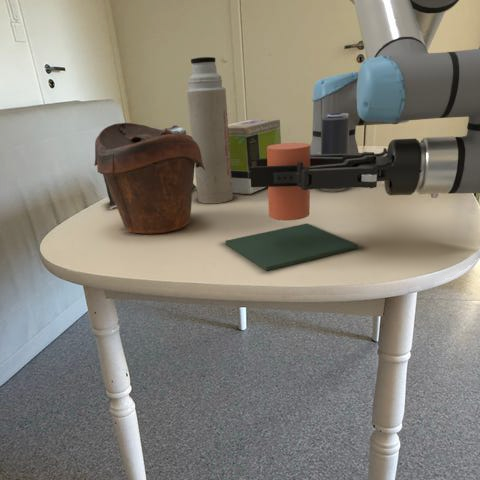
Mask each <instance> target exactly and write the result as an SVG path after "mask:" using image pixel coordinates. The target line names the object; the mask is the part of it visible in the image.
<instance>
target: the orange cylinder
mask: <svg viewBox="0 0 480 480" xmlns="http://www.w3.org/2000/svg"><path fill="white" fill-rule="evenodd" d="M310 146H311V143H307V142H306V143H305V142H283V143H282V142H281V144H274V145H270V146H268V147H267V166H285V165H297V162H299V161H301V162H302V163H303V167H307V166H310ZM267 191H268V192H267V193H268V197H267V199H268V217H269V218H271V219H273V220H276V221H297V220H302V219H306V218H308V217H309V216H310V209H311V208H310V199H311V196H310V195H311V189H308V190H302V189H301V187H299V186H280V187H267Z"/></svg>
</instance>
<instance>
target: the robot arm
mask: <svg viewBox="0 0 480 480" xmlns="http://www.w3.org/2000/svg"><path fill="white" fill-rule="evenodd" d="M459 1H460V0H349V2H350V3H352V4H353V5H354V8H355V11H356V12H355V13H356V16H357V21H358V26H359V30H360V35H361V40H362V43H363V50H364V54H365V59H364V60H363V61H362V63H361V64H360V67H359V70H358V71H352V72H346V73H341V74H336V75H332V76H328V77H323V78H320V79H318V80H316V81H315V83H314V84H313V93H312V94H313V95H312V99H311V100H312V102H313V103H312V139H311V143H310V166H307V167H303V163H302V162H301V161H299V162H297V165H285V166H267V158H262V159H256V163H257V166H256V167H250V176H251V187H266V188H268V187H280V186H299V187H301V189H302V190H308V189H310V190H320V189H331V188H346V189H350V188H353V189H354V188H367V189H374V188H377V184H378V182H384V190H385V193H386V194H387V195H388V196H411V195H412V194H414V193H415V192H416V193H417V194H418V195H430V197H431V198H432V199H436V198H438V197H439V194H442V195H446V194H449V195H450V194H480V46H479V47H478V48H474V49H464V50H455V51H444V52H429V49H430V47H431V45H432V42H433V40H434V38H435V36H436V33H437V32H438V28H439V27H440V25H441V22H442V20H443V18H444V15H445V14H446V12H448V11H449V10H451V9H453V8H454V7H455V6H456V5H457V4H458V3H459ZM336 113H341V114H349V115H348V117H349V118H350V123H349V142H348V154H321V123H322V119H324V118H328V116H327V115H329V114H336ZM448 118H449V119H450V118H468V121H467V127H466V129H467V132H466V135H464V136H431V137H429V136H428V137H423V138H422V139H421V140H420V141H419V139H417V138H396V139H395V138H394V139H392V140H391V141H390V142H389V143H388V145H387V147H384V148H383V150H382V152H380V153H375V152H374V151H363V152H359V148H358V145H357V144H358V143H357V140H356V130H357V129H356V128H357V127H359V126H375V125H398V124H405V123H407V122H410V121H419V120H420V121H421V120H434V119H448Z"/></svg>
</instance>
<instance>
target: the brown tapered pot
mask: <svg viewBox="0 0 480 480" xmlns="http://www.w3.org/2000/svg"><path fill="white" fill-rule="evenodd" d="M164 129H165V131H163V129H160V128H155V127H151V126H148V125H144V124H139V123H133V122H118V123H114V124H111V125H108V126H106V127H104V129H102V130H101V131H100V132H99V134H98V136H97V137H96V138H95V141H94V164H93V165H94V167H96V166H97V168H96V169H97V173H99V174H101V175H103V174H104V176H105V179H106V181H107V184H108V186H109V189H110V192H111V194H112V196H113V199H114V201H115V204H116V206H117V208H116V209H117V211H118V213H119V217H120V218H121V221H122V224H123V226H124V228H125V230H127V231H128V232H129V233H132V234H141V235H142V234H143V235H145V234H146V235H147V234H149V235H150V234H165V233H170V232H175V231H178V230H181V229H182V228H184V227H186V226H188V224H189V223H190V222H191V218H192V202H193V190H194V189H193V184H194V178H195V163H196V167H197V168H198V167H202V168H203V169H204V170H205V168H204V166H203V162H202V158H201V152H200V148H199V146H198V144H197V143H196V142H195V141H194V140H193V138H192V136H191V135H189V134H186V135H185V134H173V133H171V132H172V131H171V130H168V129H167V128H166V127H165V128H164ZM205 171H206V170H205Z"/></svg>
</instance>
